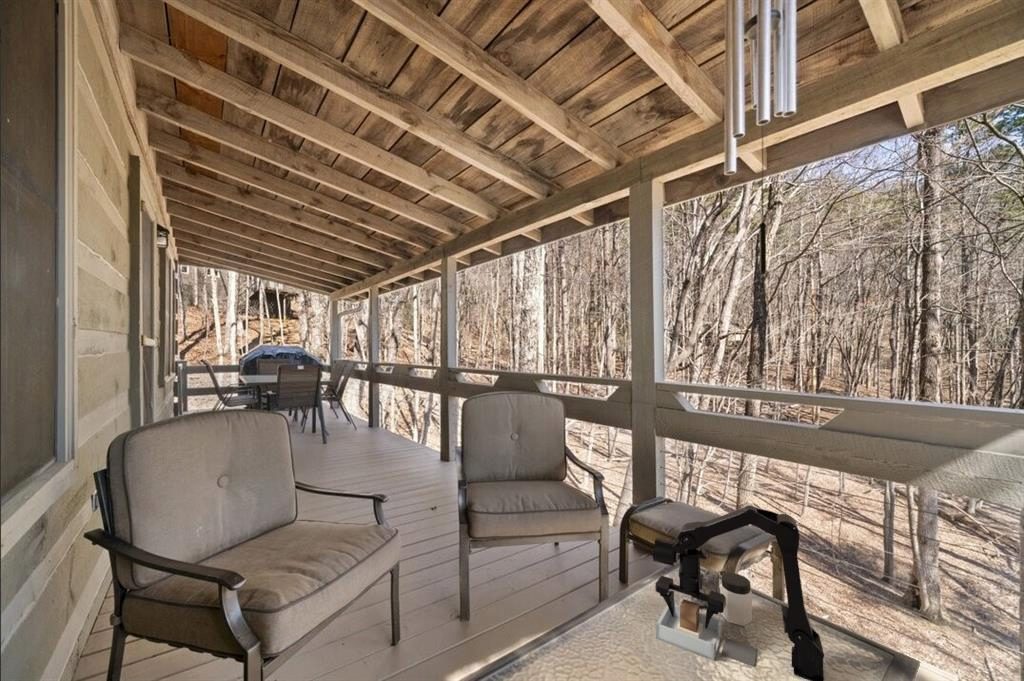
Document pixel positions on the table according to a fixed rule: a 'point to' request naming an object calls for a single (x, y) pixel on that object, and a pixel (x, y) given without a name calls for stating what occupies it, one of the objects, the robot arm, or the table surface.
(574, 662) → the table surface
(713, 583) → the mineral rock
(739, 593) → the jar
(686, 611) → the walnut block
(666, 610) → the access box
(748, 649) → the rubber mat
